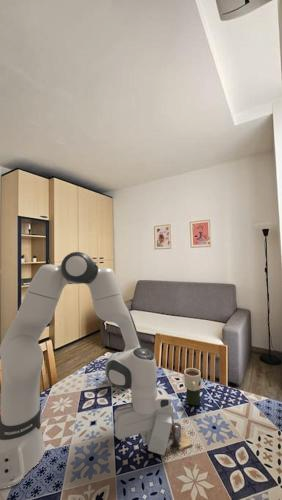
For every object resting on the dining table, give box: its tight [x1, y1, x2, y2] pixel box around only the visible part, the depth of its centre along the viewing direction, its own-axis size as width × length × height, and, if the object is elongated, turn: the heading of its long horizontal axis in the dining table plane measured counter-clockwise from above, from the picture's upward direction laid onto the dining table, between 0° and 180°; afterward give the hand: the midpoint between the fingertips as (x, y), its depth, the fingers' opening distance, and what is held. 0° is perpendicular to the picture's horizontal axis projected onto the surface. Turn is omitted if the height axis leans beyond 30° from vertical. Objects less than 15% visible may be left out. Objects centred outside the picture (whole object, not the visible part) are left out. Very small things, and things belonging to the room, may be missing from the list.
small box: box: [147, 413, 172, 456], centre depth 72 cm, size 8×6×10 cm
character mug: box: [183, 367, 202, 406], centre depth 93 cm, size 11×7×13 cm, turn 173°
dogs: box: [169, 419, 193, 451], centre depth 75 cm, size 6×10×6 cm, turn 20°
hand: (145, 442), depth 71 cm, fingers closed
